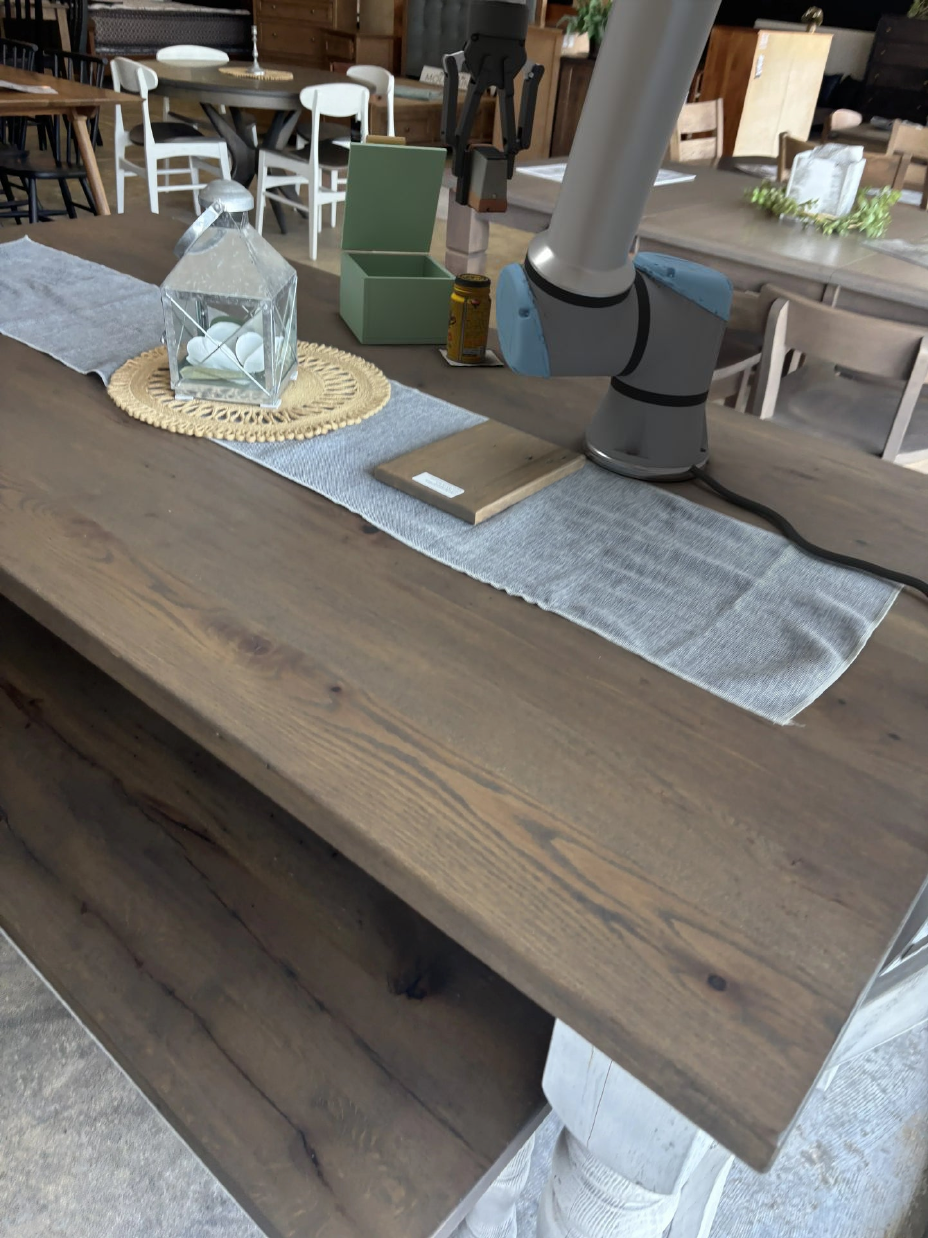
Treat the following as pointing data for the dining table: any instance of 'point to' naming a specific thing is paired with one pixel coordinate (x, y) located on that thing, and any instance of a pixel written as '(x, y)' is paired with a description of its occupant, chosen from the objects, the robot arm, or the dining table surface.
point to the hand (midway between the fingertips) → (479, 203)
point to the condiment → (469, 322)
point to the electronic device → (487, 179)
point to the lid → (391, 195)
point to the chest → (395, 298)
